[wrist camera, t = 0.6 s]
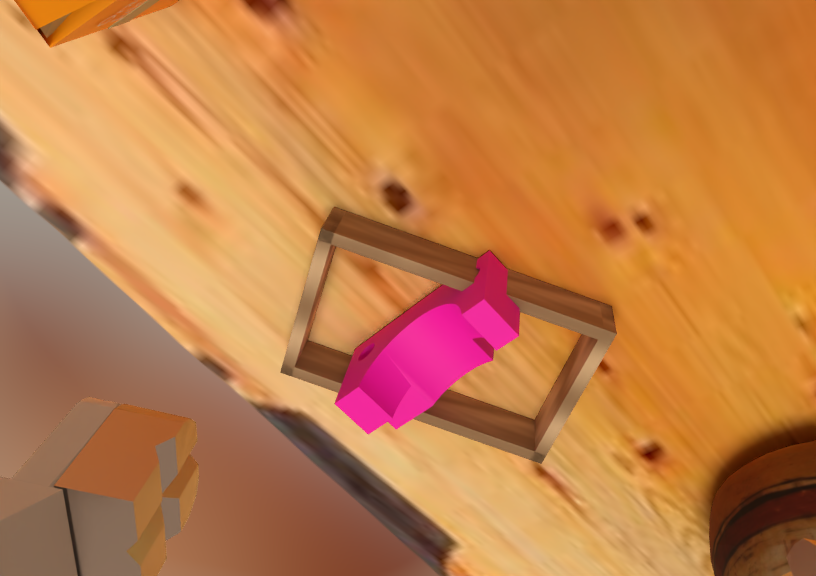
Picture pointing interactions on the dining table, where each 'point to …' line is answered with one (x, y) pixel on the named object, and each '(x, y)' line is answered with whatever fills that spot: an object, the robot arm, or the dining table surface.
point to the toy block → (429, 349)
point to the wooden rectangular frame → (459, 274)
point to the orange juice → (83, 16)
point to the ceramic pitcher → (764, 513)
